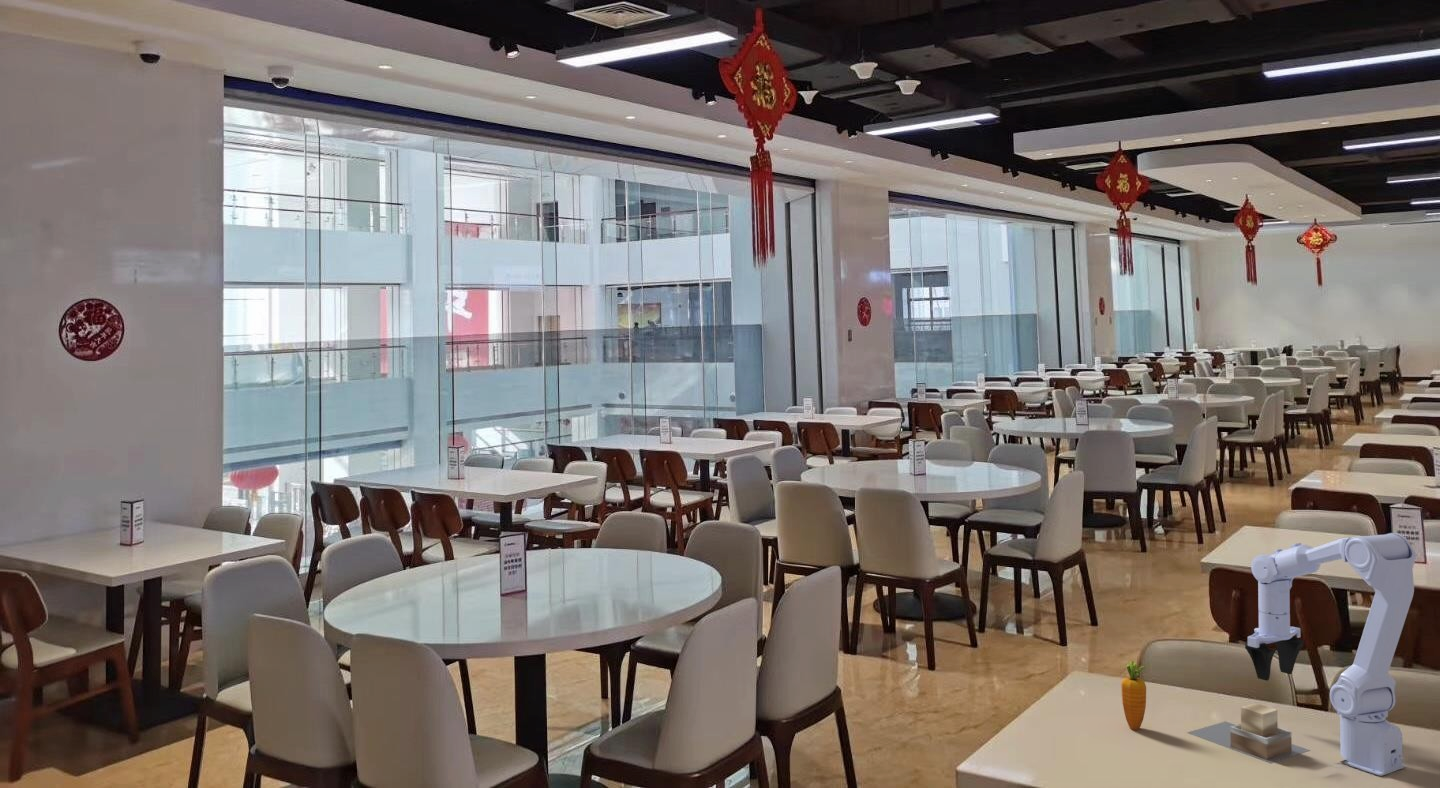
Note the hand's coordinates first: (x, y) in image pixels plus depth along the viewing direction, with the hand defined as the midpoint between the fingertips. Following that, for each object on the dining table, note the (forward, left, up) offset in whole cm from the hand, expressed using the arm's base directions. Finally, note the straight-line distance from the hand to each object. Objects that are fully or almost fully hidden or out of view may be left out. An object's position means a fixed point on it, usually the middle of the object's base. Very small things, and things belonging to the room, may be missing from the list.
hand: (1274, 676), depth 207 cm
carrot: (+12, +28, -11) cm, 32 cm away
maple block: (-8, +17, -6) cm, 19 cm away
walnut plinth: (-8, +17, -10) cm, 21 cm away
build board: (-4, +15, -10) cm, 19 cm away
